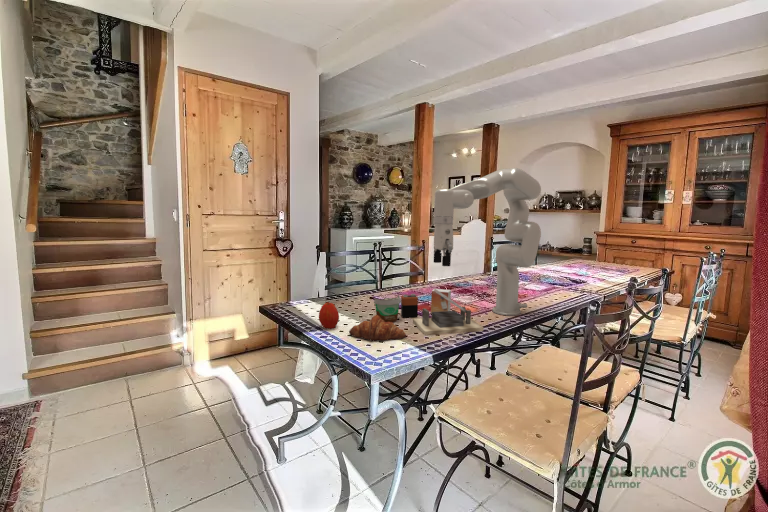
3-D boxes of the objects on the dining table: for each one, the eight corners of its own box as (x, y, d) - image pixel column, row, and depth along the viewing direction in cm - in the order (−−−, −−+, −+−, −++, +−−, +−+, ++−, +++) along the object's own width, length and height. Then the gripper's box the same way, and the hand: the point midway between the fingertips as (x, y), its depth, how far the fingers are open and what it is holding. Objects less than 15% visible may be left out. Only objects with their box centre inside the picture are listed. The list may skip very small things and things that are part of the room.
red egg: (316, 325, 151) (315, 300, 150) (336, 323, 154) (335, 298, 153) (321, 332, 144) (320, 305, 142) (341, 329, 147) (341, 303, 145)
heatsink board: (465, 318, 160) (466, 302, 159) (483, 330, 145) (484, 312, 144) (412, 322, 155) (413, 305, 154) (425, 335, 140) (425, 316, 139)
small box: (430, 313, 169) (431, 290, 168) (433, 310, 175) (434, 288, 173) (447, 315, 166) (448, 292, 165) (450, 311, 172) (451, 289, 170)
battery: (417, 317, 163) (418, 295, 161) (402, 318, 162) (402, 295, 160) (415, 314, 167) (415, 293, 166) (400, 315, 166) (401, 293, 165)
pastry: (385, 327, 150) (385, 308, 149) (407, 338, 137) (407, 317, 136) (348, 335, 141) (348, 314, 140) (368, 347, 128) (368, 325, 127)
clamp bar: (464, 311, 153) (465, 309, 153) (467, 314, 149) (469, 311, 149) (433, 290, 149) (435, 288, 149) (436, 292, 145) (438, 290, 145)
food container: (380, 325, 152) (380, 301, 150) (373, 321, 157) (373, 298, 156) (406, 321, 157) (406, 298, 156) (398, 317, 163) (399, 295, 162)
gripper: (461, 222, 137) (459, 267, 139) (444, 220, 154) (442, 261, 156) (442, 221, 136) (440, 267, 138) (427, 220, 153) (425, 261, 155)
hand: (441, 264), depth 147 cm, fingers open, 9 cm apart
